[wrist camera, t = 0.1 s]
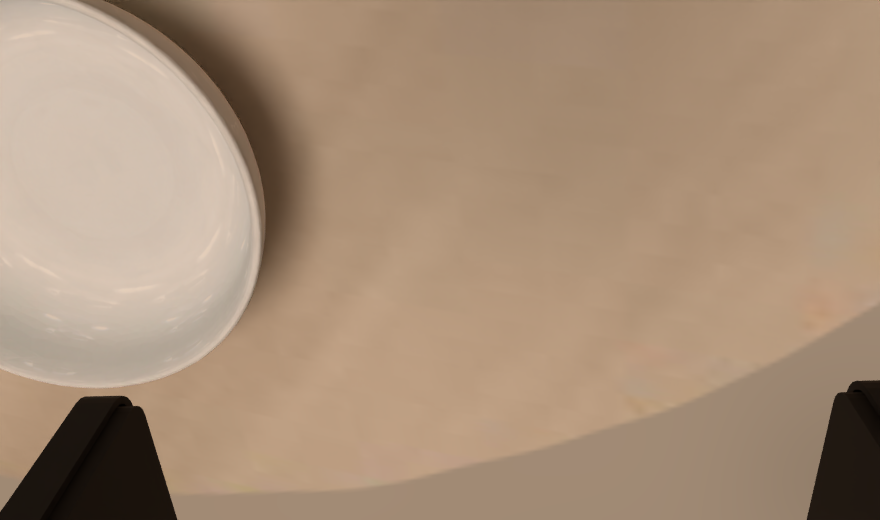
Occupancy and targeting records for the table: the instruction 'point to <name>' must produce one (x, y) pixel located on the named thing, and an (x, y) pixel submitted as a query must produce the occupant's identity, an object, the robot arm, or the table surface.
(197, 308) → the serving bowl
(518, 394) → the table surface
